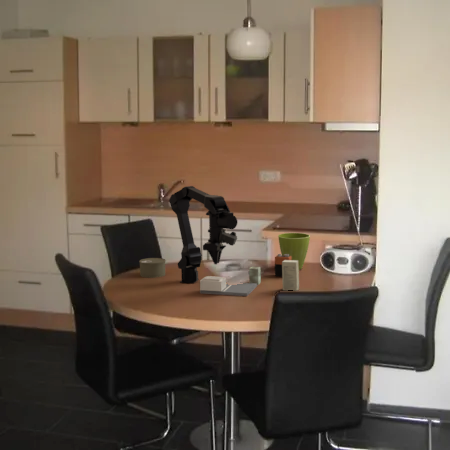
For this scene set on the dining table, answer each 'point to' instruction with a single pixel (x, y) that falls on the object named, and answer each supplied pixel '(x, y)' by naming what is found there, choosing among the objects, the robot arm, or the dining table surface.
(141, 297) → the dining table surface
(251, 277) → the peg
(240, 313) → the dining table surface
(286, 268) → the skincare box
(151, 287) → the dining table surface
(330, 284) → the dining table surface
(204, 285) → the cover
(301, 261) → the flower pot
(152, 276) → the can
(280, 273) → the battery
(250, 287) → the board
